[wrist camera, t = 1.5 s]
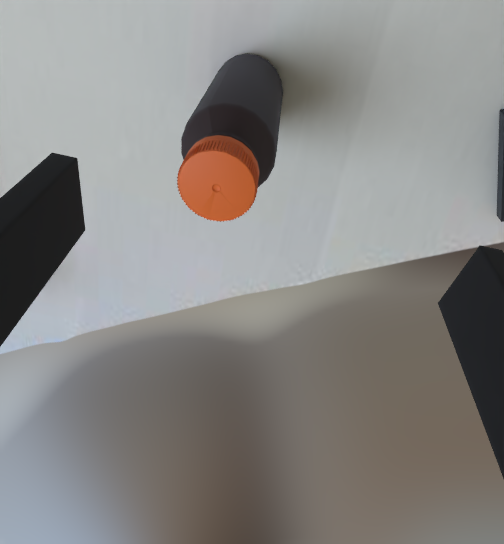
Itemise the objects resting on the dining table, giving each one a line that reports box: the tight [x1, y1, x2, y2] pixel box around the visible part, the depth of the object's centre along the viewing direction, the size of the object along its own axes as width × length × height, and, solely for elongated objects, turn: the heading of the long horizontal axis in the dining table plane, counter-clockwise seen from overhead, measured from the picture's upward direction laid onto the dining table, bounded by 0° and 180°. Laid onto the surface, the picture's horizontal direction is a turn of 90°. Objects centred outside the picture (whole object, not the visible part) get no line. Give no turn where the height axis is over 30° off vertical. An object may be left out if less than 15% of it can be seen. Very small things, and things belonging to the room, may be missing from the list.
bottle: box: [177, 54, 283, 222], centre depth 31 cm, size 7×7×20 cm
